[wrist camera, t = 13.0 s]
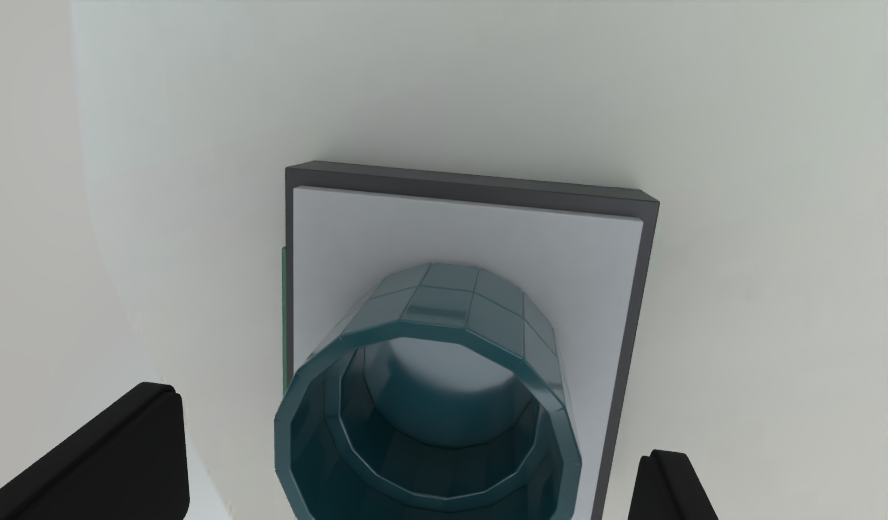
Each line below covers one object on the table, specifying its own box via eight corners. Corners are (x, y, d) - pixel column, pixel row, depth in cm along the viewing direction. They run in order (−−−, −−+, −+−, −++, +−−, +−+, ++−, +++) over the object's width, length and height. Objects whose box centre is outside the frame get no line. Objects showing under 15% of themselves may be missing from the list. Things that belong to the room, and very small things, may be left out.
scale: (301, 436, 22) (268, 486, 19) (302, 159, 19) (263, 168, 16) (591, 479, 20) (603, 539, 18) (642, 189, 17) (666, 205, 15)
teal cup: (339, 445, 18) (275, 566, 13) (344, 246, 16) (271, 303, 11) (546, 475, 17) (557, 615, 12) (576, 271, 15) (602, 344, 11)
